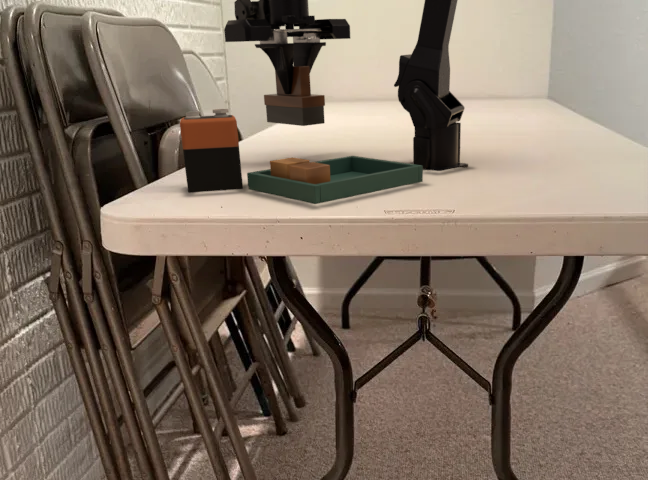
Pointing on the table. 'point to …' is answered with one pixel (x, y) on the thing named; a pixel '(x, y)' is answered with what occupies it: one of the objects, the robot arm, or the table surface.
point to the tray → (340, 179)
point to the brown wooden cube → (284, 166)
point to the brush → (295, 102)
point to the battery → (211, 151)
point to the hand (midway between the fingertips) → (293, 93)
